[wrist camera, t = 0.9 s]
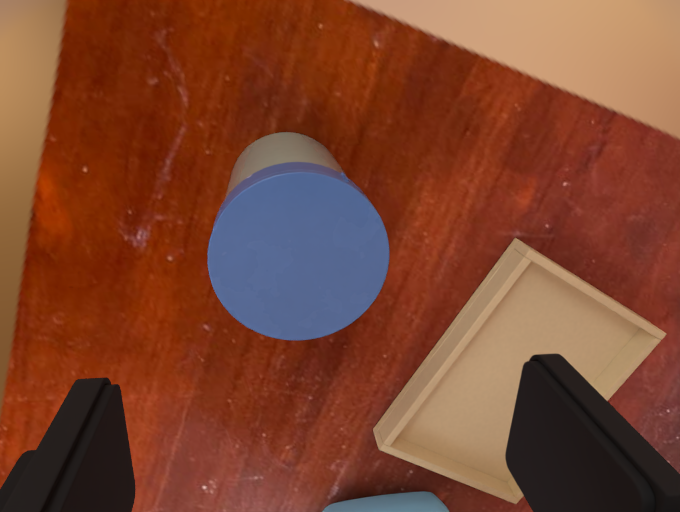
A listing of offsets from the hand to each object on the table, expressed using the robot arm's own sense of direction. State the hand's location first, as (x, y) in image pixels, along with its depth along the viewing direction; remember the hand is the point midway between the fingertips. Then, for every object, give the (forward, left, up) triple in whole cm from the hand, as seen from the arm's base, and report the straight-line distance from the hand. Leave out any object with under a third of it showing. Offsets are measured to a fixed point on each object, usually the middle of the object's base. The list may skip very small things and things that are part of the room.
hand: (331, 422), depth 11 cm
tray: (+4, +21, -20) cm, 29 cm away
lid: (0, 0, -9) cm, 9 cm away
